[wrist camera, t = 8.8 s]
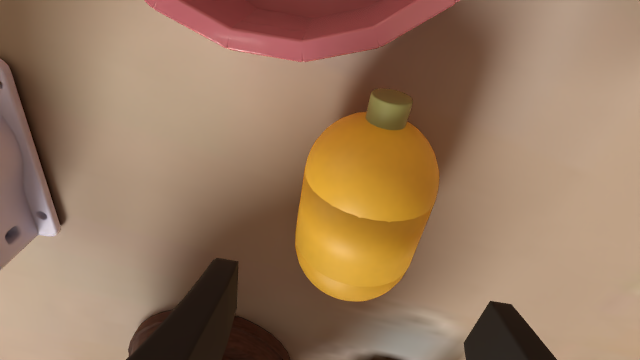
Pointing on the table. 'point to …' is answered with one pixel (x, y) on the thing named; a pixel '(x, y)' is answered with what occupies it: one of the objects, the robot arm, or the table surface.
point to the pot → (301, 24)
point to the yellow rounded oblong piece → (365, 200)
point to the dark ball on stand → (243, 344)
